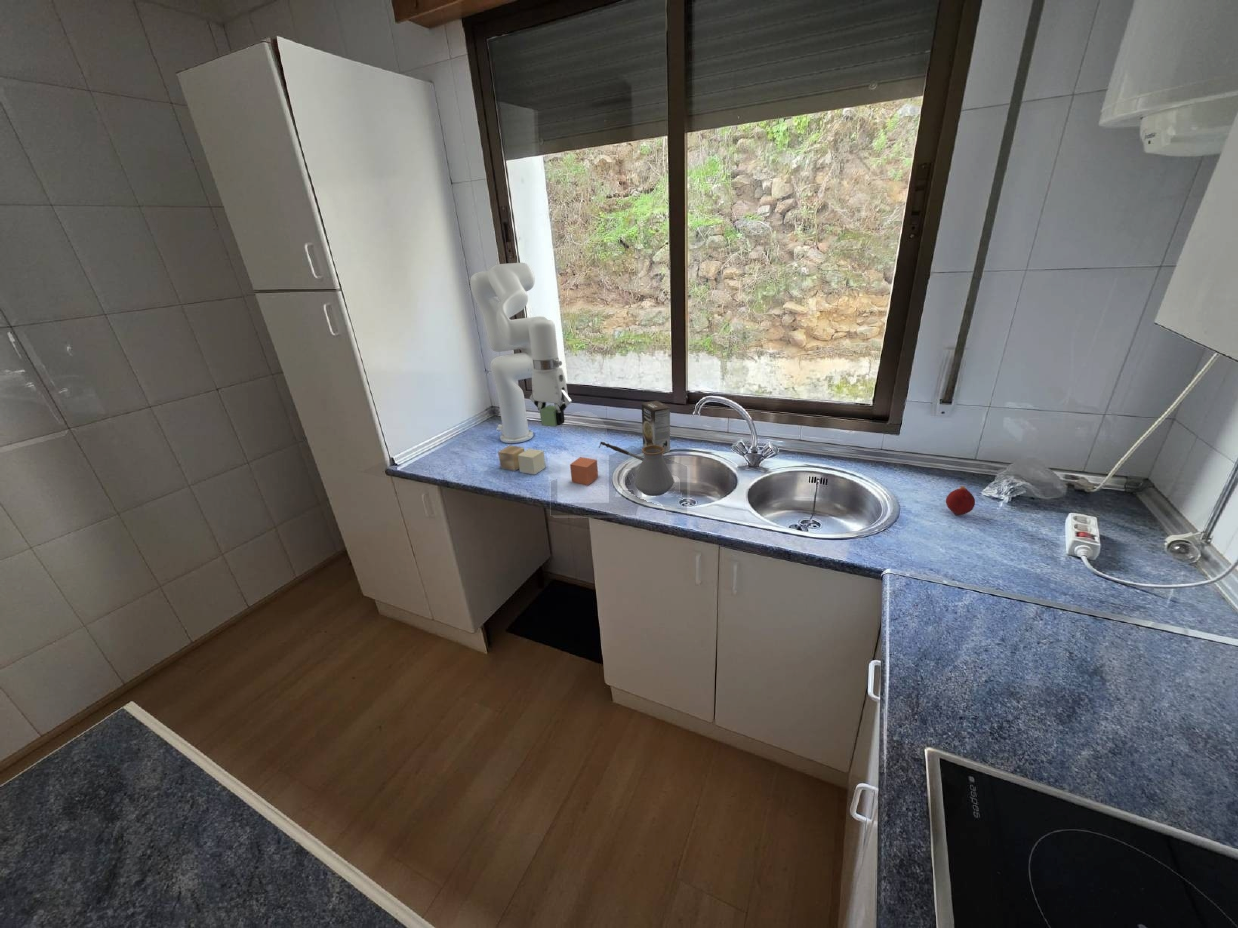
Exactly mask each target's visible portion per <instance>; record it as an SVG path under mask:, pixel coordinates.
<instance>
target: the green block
mask: <svg viewBox="0 0 1238 928" xmlns="http://www.w3.org/2000/svg"><path fill="white" fill-rule="evenodd" d="M556 413H557V410H556V407H555V405H554V404H553V405H552V404H548V405H546V407H544V408H542V409H541V410H540V411H539V415H541V416H540V421H541V426H543V427H552V428H557V427H558V426H559V425H557V420H556Z"/></svg>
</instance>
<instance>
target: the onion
mask: <svg viewBox="0 0 1238 928" xmlns="http://www.w3.org/2000/svg"><path fill="white" fill-rule="evenodd" d="M945 505H946V507H947V508H948V509H949V511H950V512H951V513H952V514H953V515H955V516H961V515H966V514H968V513H971V512H972V511H973V509H974V507H975V505H976V499H975V496H974V495H973V493H972V492H970V490H968V488H966V486H964V485H961V486H960V488H957V489H954V490H952V491H950V492H949V493H948V494H947V497H946V498H945Z"/></svg>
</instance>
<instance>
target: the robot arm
mask: <svg viewBox="0 0 1238 928" xmlns="http://www.w3.org/2000/svg"><path fill="white" fill-rule="evenodd" d="M535 279H536V278H535V274H534V271H533V269H532V268H531V266H530V265H529V264H527V263H525V262H510V263H499V264H495V265H493V266H492V267H491V268H490V269H489V270H483V271H478V272H476V273H473V274H472V275H471V277H470V282H469V283H470V284H469V285H470V289H471V290H470V291H471V294H472V296H473V299H474V301H475V303H476V305H477V307H478V308H479V310H480V312H481V315H482V319H483V324H484V328H485V332H486V336H487V341H488V344H489V347H490V349H491V350H492V351H493V352H499V353H500V352H509V351H515V350H516V351H517V350H520V351H521V352H516V353H509V354H503V355H498V356H496V357H494V358H492V360H491V361H490V364H489V366H490V368H489V369H490V373H491V376H492V378H493V382H494V386H495V389H496V395H497V400H498V407H499V413H500V418H501V419H500V421H501V423H500V424H498V425H497V428H496V429H495V430H496V431H497V432H501V435H499V439H500V441H501V442H503V443H505V444H519V443H523V442H527V441H530V440H531V439H532V438H534V431H533V430H530V428H529V423H528V422H529V421H528V416H527V408H526V402H525V395H524V391H523V389H522V388H521V386H519V385H518V384H517V383H516V382H517V381H521V380H526V379H531V389H532V393H531V395H530V396H529V400H530V401H531V402H532V403H533V404H534V405H535V407H536V408H537V410H538V412H540V410H541V409H542V408H544V407H546V406H547V404H548V403H550V404H553V405H554V406H555V407H556V410H557V413H556V420H557V425H558V426H561V425H563V424H564V423H565V411H566V409H567V407H568V406H570V405H571V404H572V402H573V400H572V399H571V397H569V394H568V385H567V380H566V376H565V373H564V369H563V368H562V367H561V366H562V365H563V362H562V360H560V359H559V358H560V357H559V350H558V341H557V340H558V339H557V333H556V326H555V322H554V321H553V320H551V319H547V317H545V316H532V317H523V318H515V319H510V318H512V317H513V316H516V315H517V314H519V313H520V312H522V311H523V310H524V309H525V308H526V306H527V305H528V303H529V295H528V293H527V292H529V291H530V290H532V289H533V288H534V286H535ZM496 297H497V298H496ZM539 415H540V414H539ZM540 417H541V415H540Z"/></svg>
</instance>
